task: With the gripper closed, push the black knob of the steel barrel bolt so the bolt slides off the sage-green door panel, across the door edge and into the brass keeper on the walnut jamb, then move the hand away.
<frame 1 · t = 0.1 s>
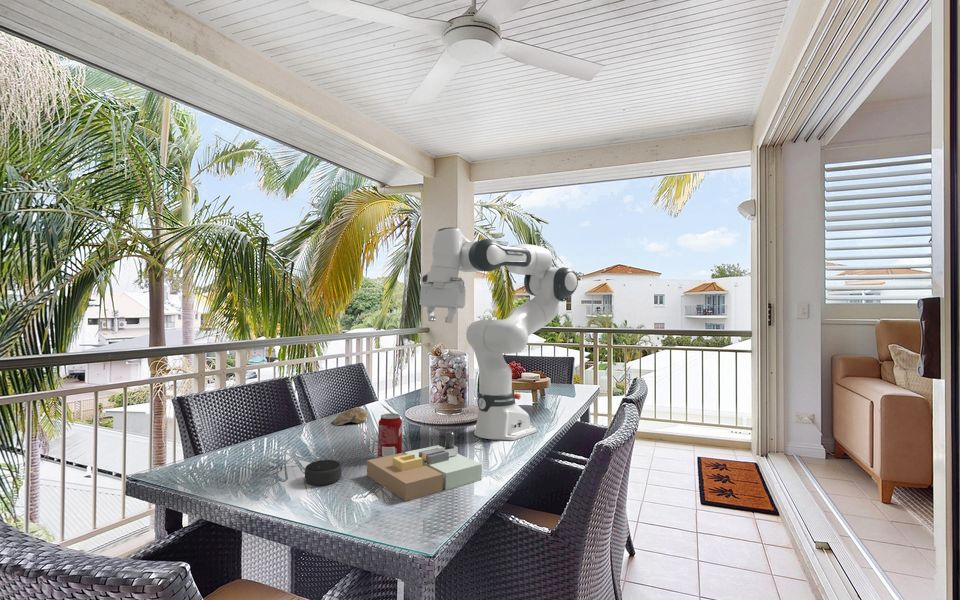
hand: (439, 322, 152), 39 cm above the table, tool pointing down, fingers open, 8 cm apart
door and jamb: (420, 478, 125), on the table
bolt: (440, 445, 128), point 7 cm above the table, slide at 0.0 cm
soda can: (389, 457, 141), on the table
oyster shell: (349, 423, 180), on the table
smart speaker: (323, 481, 123), on the table
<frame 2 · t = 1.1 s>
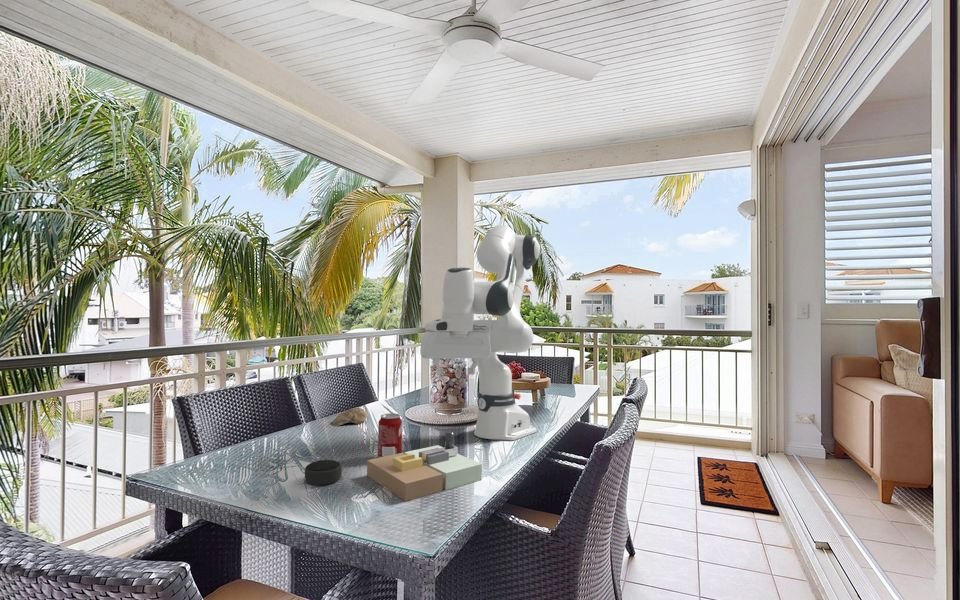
hand: (455, 374, 135), 25 cm above the table, tool pointing down, fingers open, 8 cm apart
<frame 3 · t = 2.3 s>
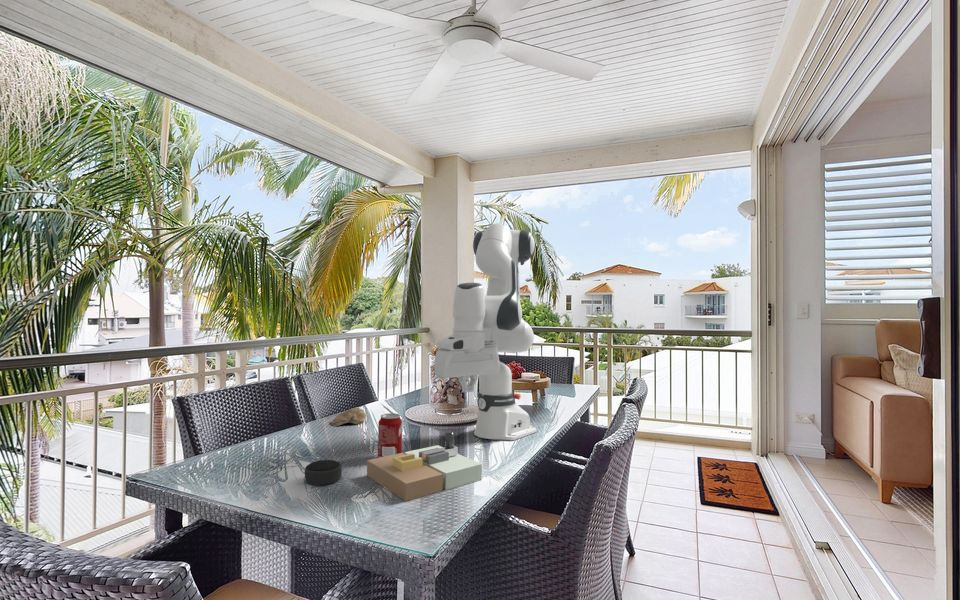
hand: (467, 391, 134), 21 cm above the table, tool pointing down, fingers closed
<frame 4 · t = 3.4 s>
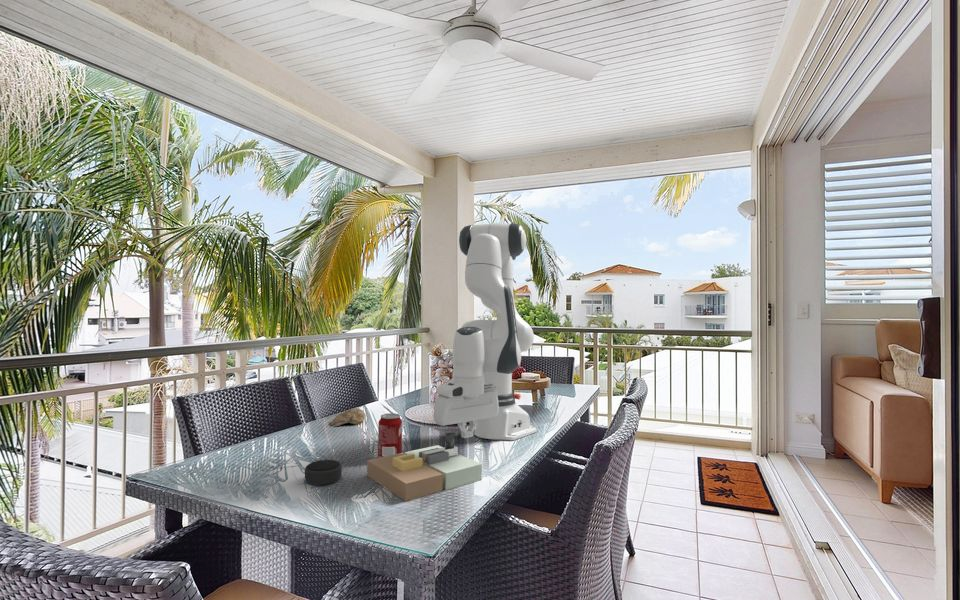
hand: (467, 437, 134), 8 cm above the table, tool pointing down, fingers closed
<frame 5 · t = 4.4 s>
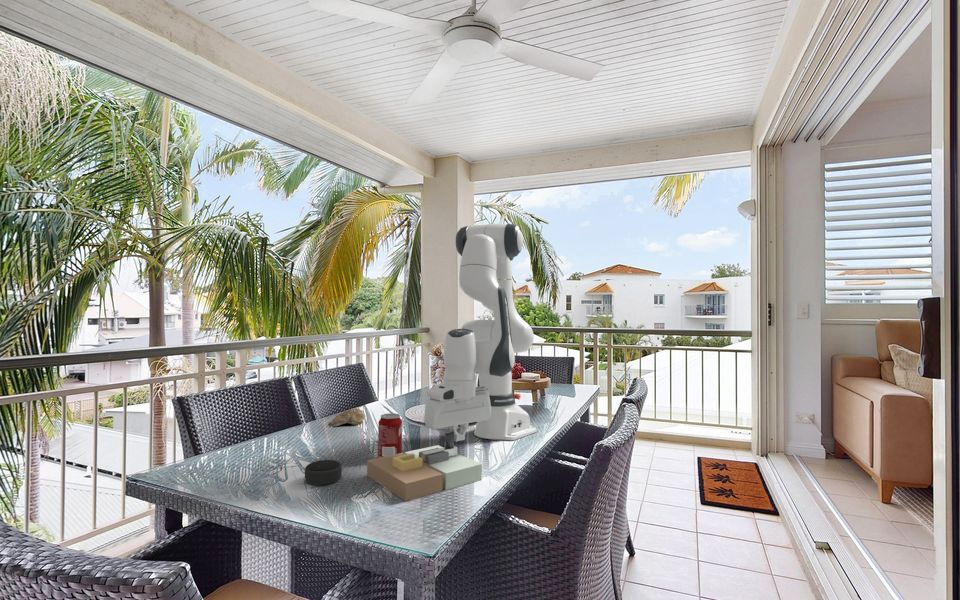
hand: (458, 440, 132), 8 cm above the table, tool pointing down, fingers closed
bolt: (439, 445, 128), point 7 cm above the table, slide at 0.2 cm, touching gripper
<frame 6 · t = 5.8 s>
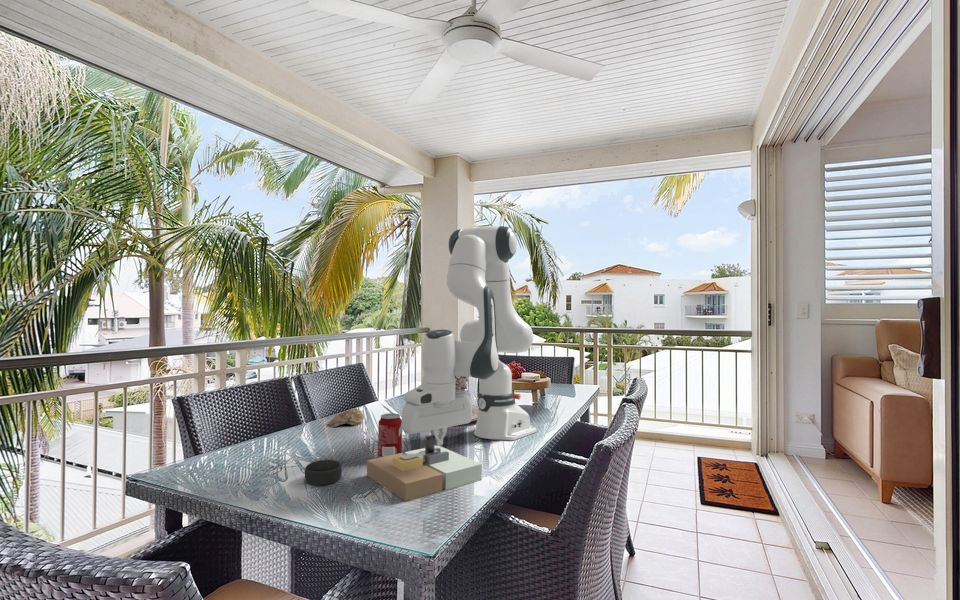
hand: (438, 445, 128), 8 cm above the table, tool pointing down, fingers closed
bolt: (419, 450, 124), point 7 cm above the table, slide at 6.2 cm, touching gripper
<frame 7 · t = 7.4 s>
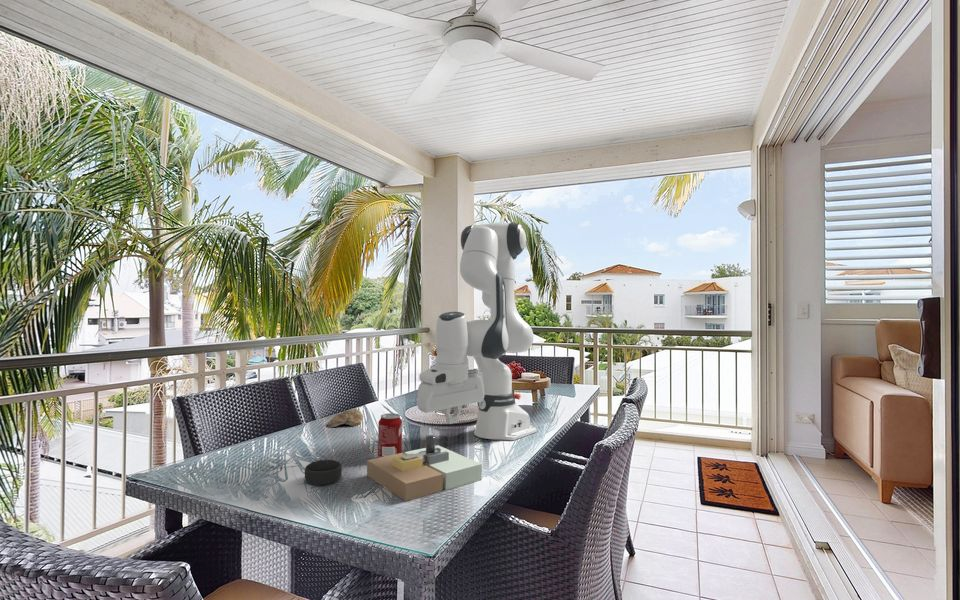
hand: (452, 422, 133), 12 cm above the table, tool pointing down, fingers closed
bolt: (420, 450, 125), point 7 cm above the table, slide at 6.0 cm
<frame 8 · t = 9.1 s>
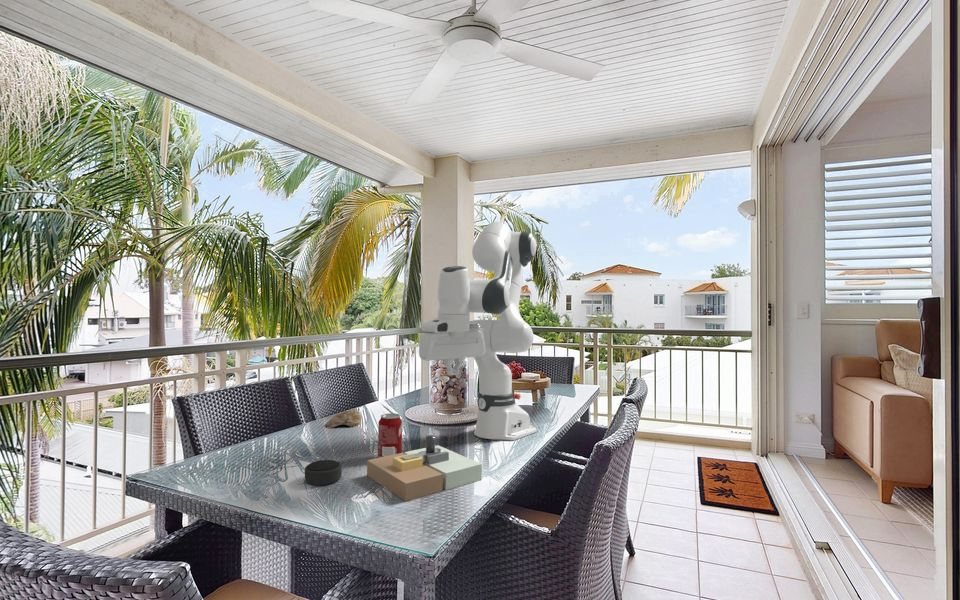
hand: (453, 374, 134), 25 cm above the table, tool pointing down, fingers closed
at the end: bolt slide at 6.0 cm; the gripper is holding nothing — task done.
